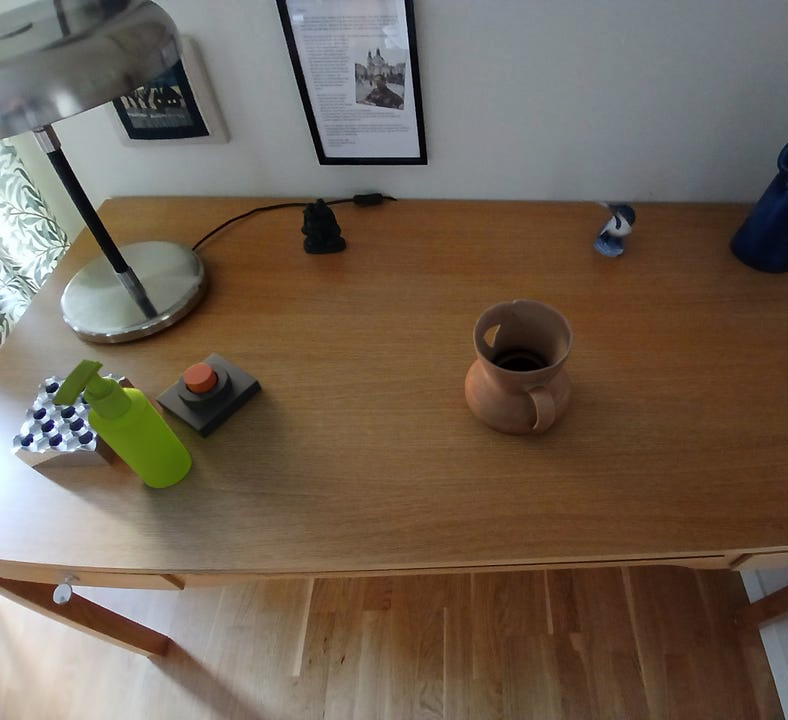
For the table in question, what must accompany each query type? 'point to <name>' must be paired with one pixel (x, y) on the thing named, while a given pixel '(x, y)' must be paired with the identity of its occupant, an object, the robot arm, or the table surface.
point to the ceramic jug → (520, 368)
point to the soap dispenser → (127, 425)
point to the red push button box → (210, 397)
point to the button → (200, 378)
